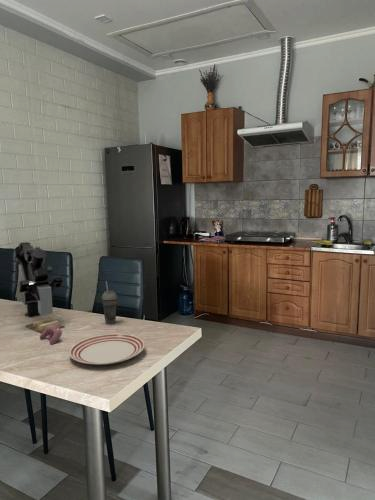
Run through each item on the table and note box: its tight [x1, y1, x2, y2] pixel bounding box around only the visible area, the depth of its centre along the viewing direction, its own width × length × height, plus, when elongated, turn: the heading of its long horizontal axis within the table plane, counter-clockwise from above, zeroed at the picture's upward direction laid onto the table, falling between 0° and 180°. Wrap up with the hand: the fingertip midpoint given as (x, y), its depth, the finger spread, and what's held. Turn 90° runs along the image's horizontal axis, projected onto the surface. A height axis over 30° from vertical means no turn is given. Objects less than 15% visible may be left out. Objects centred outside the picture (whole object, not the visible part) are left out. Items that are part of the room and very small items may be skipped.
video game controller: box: [39, 326, 63, 345], centre depth 155 cm, size 10×5×7 cm, turn 47°
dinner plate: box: [68, 333, 146, 366], centre depth 140 cm, size 28×27×3 cm
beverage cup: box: [101, 280, 118, 325], centre depth 176 cm, size 7×7×20 cm
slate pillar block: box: [37, 285, 54, 316], centre depth 170 cm, size 5×5×12 cm
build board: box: [25, 317, 65, 334], centre depth 172 cm, size 15×11×3 cm
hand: (45, 299), depth 169 cm, fingers closed on slate pillar block, 5 cm apart
